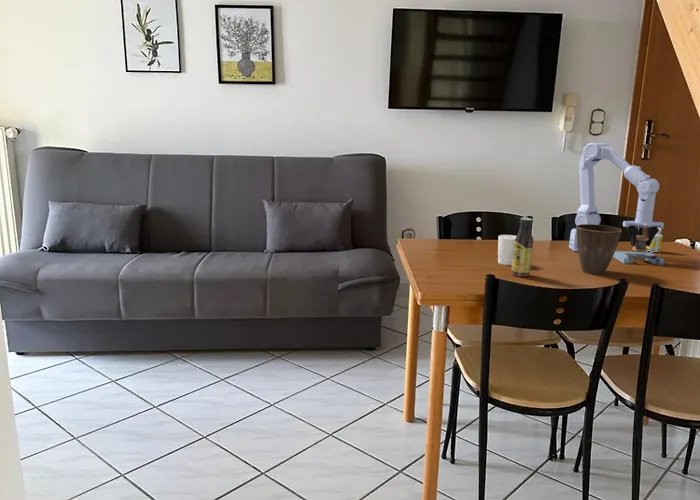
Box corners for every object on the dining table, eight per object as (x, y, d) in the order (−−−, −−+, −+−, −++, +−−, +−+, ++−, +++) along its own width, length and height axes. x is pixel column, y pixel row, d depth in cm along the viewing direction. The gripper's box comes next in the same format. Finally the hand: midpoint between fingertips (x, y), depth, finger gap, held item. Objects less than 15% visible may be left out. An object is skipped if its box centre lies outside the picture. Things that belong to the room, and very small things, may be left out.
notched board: (623, 263, 232) (624, 258, 232) (610, 255, 245) (611, 250, 244) (663, 264, 232) (664, 259, 231) (648, 256, 244) (649, 252, 244)
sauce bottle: (508, 272, 213) (513, 216, 209) (525, 272, 214) (531, 216, 209) (514, 277, 207) (520, 219, 202) (532, 277, 207) (538, 220, 203)
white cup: (518, 262, 229) (521, 236, 227) (517, 266, 222) (519, 239, 220) (497, 259, 232) (499, 234, 230) (495, 264, 225) (497, 237, 222)
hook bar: (628, 263, 232) (629, 255, 231) (626, 262, 234) (627, 254, 233) (659, 264, 232) (660, 256, 231) (657, 263, 233) (658, 255, 233)
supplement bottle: (657, 250, 257) (660, 227, 255) (662, 253, 252) (665, 230, 250) (643, 249, 258) (647, 227, 256) (648, 252, 253) (652, 229, 250)
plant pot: (579, 264, 228) (584, 222, 225) (621, 271, 219) (627, 228, 216) (565, 271, 217) (570, 227, 214) (608, 279, 208) (614, 233, 204)
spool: (636, 252, 234) (637, 238, 232) (630, 249, 239) (631, 235, 237) (649, 252, 234) (651, 238, 232) (644, 248, 239) (645, 235, 237)
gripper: (630, 211, 229) (625, 247, 232) (669, 213, 228) (664, 248, 231) (622, 208, 236) (618, 243, 239) (660, 210, 235) (655, 244, 238)
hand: (640, 245), depth 235 cm, fingers closed on spool, 5 cm apart
